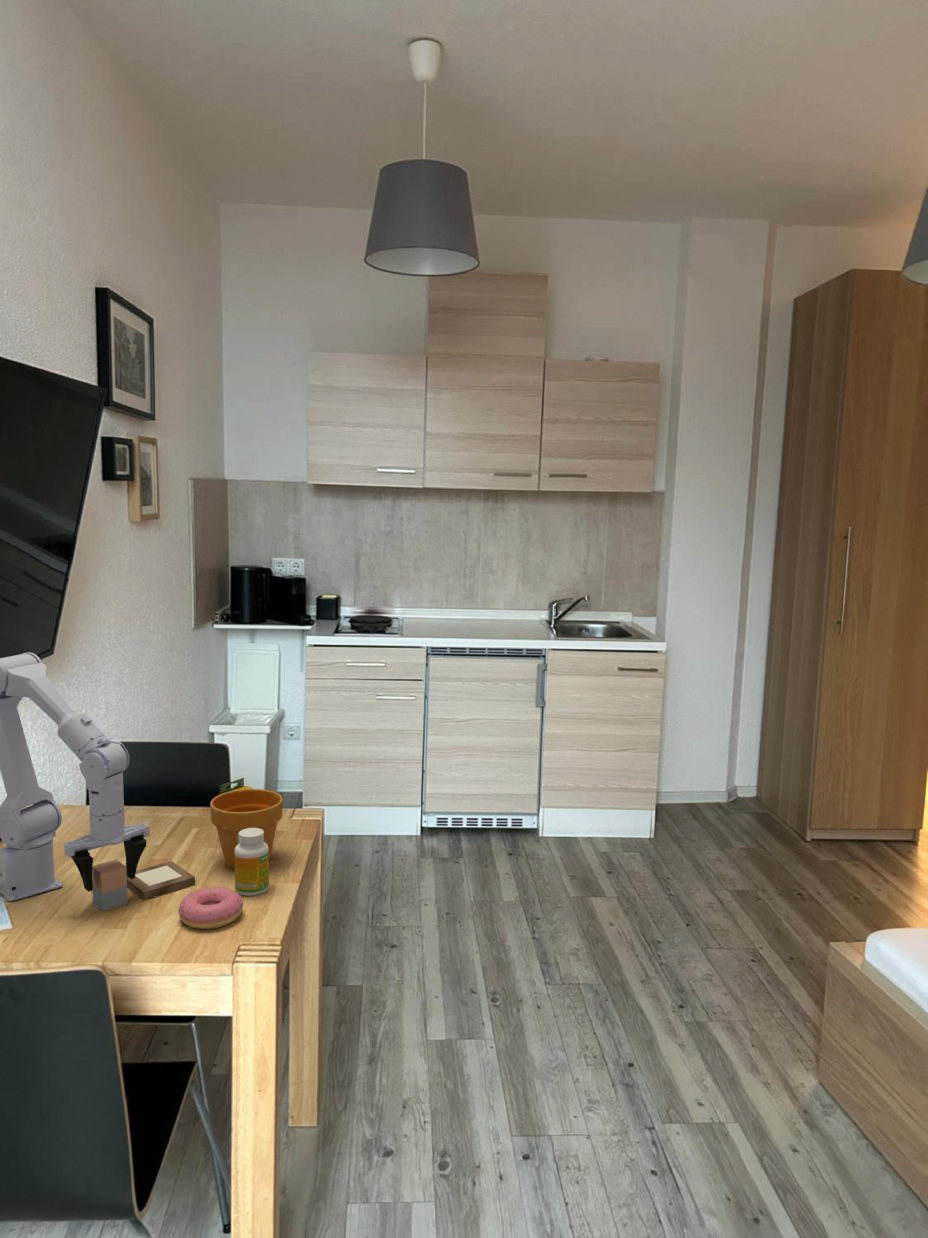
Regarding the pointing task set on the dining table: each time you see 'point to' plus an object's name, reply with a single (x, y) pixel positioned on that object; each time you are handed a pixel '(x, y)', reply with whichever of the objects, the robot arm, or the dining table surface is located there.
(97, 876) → the block stack
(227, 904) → the doughnut
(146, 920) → the dining table surface
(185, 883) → the walnut board
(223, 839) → the flower pot
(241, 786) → the crayon box
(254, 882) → the supplement bottle
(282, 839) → the dining table surface
